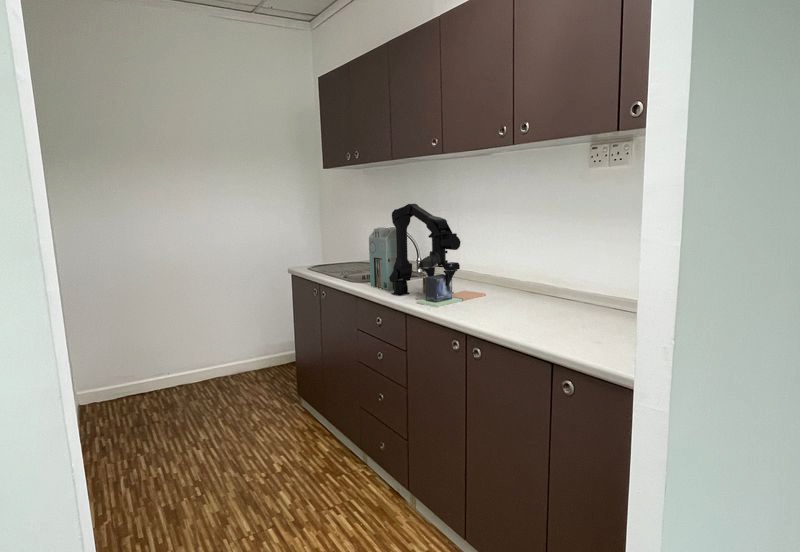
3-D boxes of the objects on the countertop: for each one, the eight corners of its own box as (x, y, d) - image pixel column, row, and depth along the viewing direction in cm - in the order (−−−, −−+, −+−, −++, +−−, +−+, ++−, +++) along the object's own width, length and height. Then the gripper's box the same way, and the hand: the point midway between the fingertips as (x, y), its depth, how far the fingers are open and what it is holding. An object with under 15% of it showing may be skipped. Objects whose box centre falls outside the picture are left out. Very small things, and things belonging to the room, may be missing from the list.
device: (370, 286, 268) (368, 228, 263) (383, 284, 272) (381, 227, 267) (387, 290, 254) (385, 229, 250) (400, 289, 258) (398, 228, 254)
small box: (436, 303, 217) (436, 278, 215) (425, 301, 222) (424, 276, 220) (453, 299, 224) (452, 275, 223) (442, 297, 229) (441, 273, 227)
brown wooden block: (423, 292, 247) (422, 277, 246) (431, 290, 251) (431, 276, 250) (444, 295, 237) (444, 280, 236) (453, 293, 241) (453, 279, 240)
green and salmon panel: (416, 303, 222) (416, 300, 222) (465, 292, 244) (465, 290, 244) (437, 307, 214) (436, 304, 214) (485, 295, 235) (485, 293, 235)
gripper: (409, 249, 221) (410, 285, 224) (442, 251, 208) (442, 290, 210) (428, 246, 229) (428, 281, 231) (460, 249, 215) (460, 286, 218)
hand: (439, 284), depth 222 cm, fingers open, 9 cm apart
